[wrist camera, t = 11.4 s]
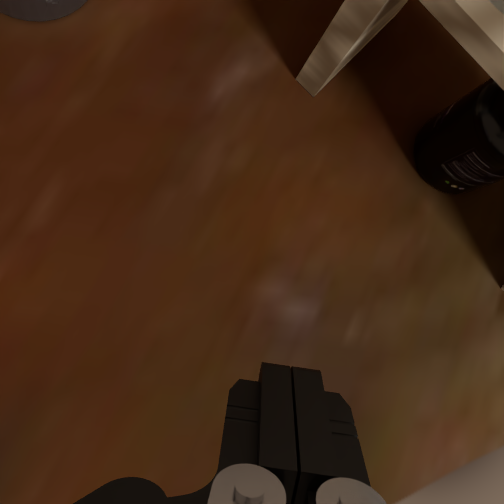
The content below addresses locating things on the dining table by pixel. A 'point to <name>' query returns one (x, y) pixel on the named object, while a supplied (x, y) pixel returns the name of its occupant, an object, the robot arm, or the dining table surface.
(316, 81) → the riser
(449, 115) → the supplement bottle
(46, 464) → the dining table surface
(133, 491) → the robot arm
